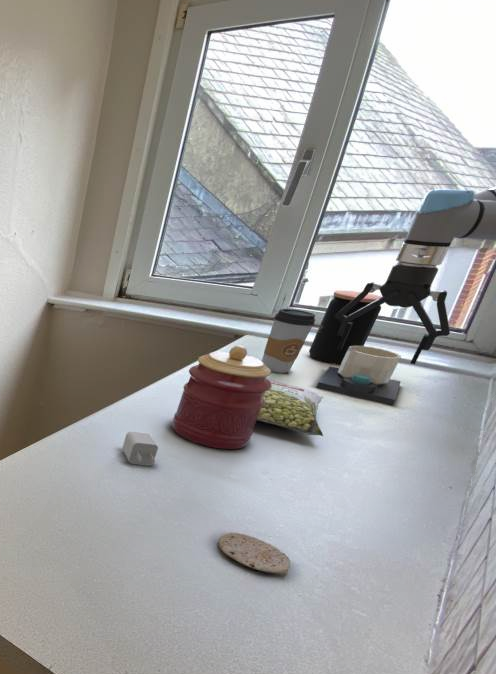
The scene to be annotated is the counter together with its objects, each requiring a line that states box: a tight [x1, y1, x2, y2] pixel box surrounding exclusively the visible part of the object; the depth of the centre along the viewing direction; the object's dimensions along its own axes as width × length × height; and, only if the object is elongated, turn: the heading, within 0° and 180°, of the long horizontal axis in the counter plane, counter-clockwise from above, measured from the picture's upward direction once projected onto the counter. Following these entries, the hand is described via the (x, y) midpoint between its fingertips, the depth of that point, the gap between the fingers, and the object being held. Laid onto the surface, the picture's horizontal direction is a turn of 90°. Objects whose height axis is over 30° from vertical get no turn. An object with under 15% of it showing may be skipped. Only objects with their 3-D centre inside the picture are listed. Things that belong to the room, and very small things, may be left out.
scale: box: [316, 366, 401, 406], centre depth 132 cm, size 14×19×3 cm
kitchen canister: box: [172, 345, 272, 450], centre depth 101 cm, size 13×13×18 cm
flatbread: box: [218, 532, 291, 575], centre depth 71 cm, size 8×8×1 cm
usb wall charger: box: [121, 431, 159, 466], centre depth 93 cm, size 4×7×4 cm, turn 169°
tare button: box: [351, 374, 371, 385], centre depth 127 cm, size 3×3×2 cm
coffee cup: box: [261, 308, 316, 374], centre depth 140 cm, size 8×8×15 cm
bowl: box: [338, 345, 402, 385], centre depth 133 cm, size 10×10×7 cm
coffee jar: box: [308, 290, 382, 366], centre depth 149 cm, size 11×11×18 cm
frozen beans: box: [257, 380, 324, 437], centre depth 115 cm, size 21×6×25 cm
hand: (374, 355), depth 131 cm, fingers open, 13 cm apart
